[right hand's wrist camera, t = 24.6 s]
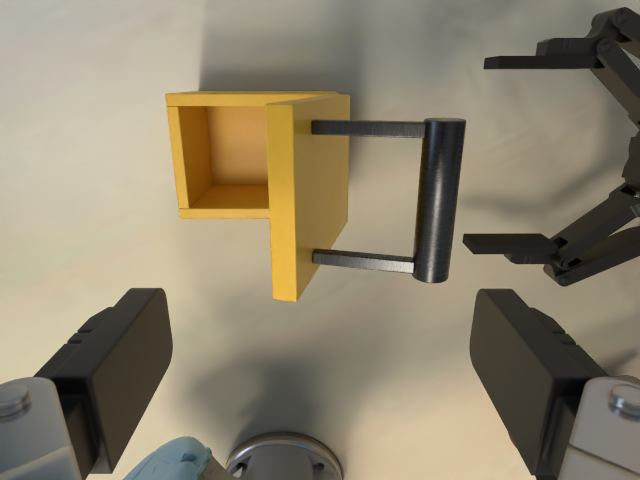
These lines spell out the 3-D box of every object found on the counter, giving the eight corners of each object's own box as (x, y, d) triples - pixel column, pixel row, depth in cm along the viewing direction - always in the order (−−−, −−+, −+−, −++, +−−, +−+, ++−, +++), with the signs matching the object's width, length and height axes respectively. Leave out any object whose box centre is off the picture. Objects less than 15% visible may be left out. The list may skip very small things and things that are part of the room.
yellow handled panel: (272, 299, 22) (448, 321, 20) (264, 103, 19) (473, 106, 17) (331, 221, 34) (443, 229, 32) (332, 94, 31) (458, 95, 29)
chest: (207, 191, 43) (179, 218, 35) (197, 90, 40) (164, 93, 31) (335, 191, 43) (339, 218, 35) (336, 90, 40) (341, 93, 31)
